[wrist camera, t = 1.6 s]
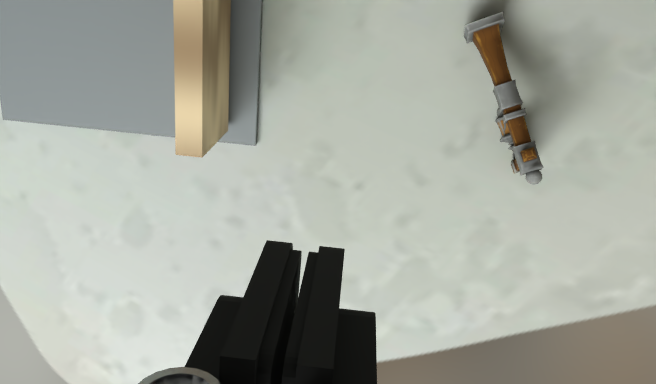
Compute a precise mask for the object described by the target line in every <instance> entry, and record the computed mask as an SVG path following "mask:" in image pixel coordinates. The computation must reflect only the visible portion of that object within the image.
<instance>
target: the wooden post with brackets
mask: <svg viewBox="0 0 656 384" xmlns="http://www.w3.org/2000/svg"><path fill="white" fill-rule="evenodd" d="M504 21H505V19H504V17H503V12H500V13H497V14H495V15H492V16H489V17H486V18H483V19H481V20H478V21H475V22H472V23H469V24H466V25H465V29H464V37H465V39H466V41H467V43H469V42H472V41H473V42H474V44H475V45H476V47H477V49H478V50H479V52H480V54H481V56H482V59H483V61H484V63H485V65H486V67H487V69H488V71H489V73H490V75H491V78H492V81H493V84H494V86H495V87H494V89H493V92H494V94H495V96H496V99H497V102H498V105H499V109H498V110H497V115H498V116H499V117H500V118H497V119H496V122H497V124H498V126H499V128H500V131H501V134H502V138H501V139H500V142H508V143H509V145H512V146H510V147H509V148H508V149H510V150H512V151H513V159H514V160H512V161H511V166H512V169H513V172H514V173H517V172H520V176H521V175H524V174H526V180H527V181H528V182H529V183H530V184H538V183H539V182H540V181H541V180H542V174H541V172H540V171H539V170H541V169H542V168H543V165H542V164H541V161H540V158H539V155H538V152H537V149H536V145H535V141H533V142H531V139H530V135H529V132H528V129H527V125H526V122H525V119H524V117H525V115H526V112H525V108H524V109H521V105H522V104H523V102H522V100H521V98H520V96H519V93H518V90H517V87H516V82H515V80H513V81H512V79H511V76H510V73H509V70H508V67H507V63H506V58H505V54H504V50H503V46H502V41H501V36H500V32H501V30H502V27H503V24H504ZM515 157H516V159H515Z"/></svg>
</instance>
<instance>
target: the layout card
mask: <svg viewBox="0 0 656 384" xmlns="http://www.w3.org/2000/svg"><path fill="white" fill-rule="evenodd" d="M261 16H262V0H231V16H230V65H229V114H228V131H227V132H226V133H225V134H224V135H223V136H222V137H221V139H220V140H219V141H218V142H224V143H233V144H243V145H253V146H255V145H256V141H257V116H258V91H259V66H260V41H261ZM0 101H1V108H2V116H3V120H11V121H21V122H31V123H40V124H50V125H60V126H69V127H79V128H88V129H98V130H108V131H117V132H127V133H137V134H146V135H156V136H166V137H175V78H174V14H173V0H0Z"/></svg>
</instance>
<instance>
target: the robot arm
mask: <svg viewBox="0 0 656 384" xmlns="http://www.w3.org/2000/svg"><path fill="white" fill-rule="evenodd" d="M343 260H344V249H341V248H332V247H323V246H320V247H319V252H318V253H316V252H309V254H308V258H307V262H306V267H305V271H304V276H303V280H302V284H301V289H300V293H299V280H300V267H301V251H298V250H293V245H292V243H286V242H277V241H268V240H267V241H266V244H265V246H264V248H263V251H262V253H261V256H260V258H259V261H258V263H257V266H256V268H255V270H254V273H253V275H252V278H251V280H250V283H249V285H248V288H247V290H246V293H245V295H244V297H234V296H225V295H221V296H220V297H219V298H218V300H217V302H216V304H215V306H214V308H213V310H212V312H211V314H210V316H209V318H208V320H207V322H206V324H205V326H204V329H203V331H202V333H201V335H200V337H199V339H198V341H197V343H196V345H195V347H194V349H193V351H192V353H191V355H190V357H189V359H188V361H187V363H186V365H185V367H178V368H169V369H165V370H162V371H159V372H156V373H154V374H152V375H150V376H148V377H146V378H144V379H143V380H142V381H141V382H140V383H138V384H377V369H376V366H377V365H376V317H375V312H366V311H357V310H348V309H340V308H339V303H340V292H341V281H342V271H343ZM298 293H299V297H298Z"/></svg>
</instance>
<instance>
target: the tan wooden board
mask: <svg viewBox="0 0 656 384" xmlns="http://www.w3.org/2000/svg"><path fill="white" fill-rule="evenodd" d="M173 14H174V78H175V142H176V155H183V156H193V157H203V156H204V155H205V154H206V153H207V152H208V151H209V150H210V149H211V148H212V147H213V146H214V145H215V144H216V143H217V142H218V141H219V140H220V139H221V137H222V136H223V135H224V134H225V133H226V132H227V131H228V114H229V65H230V16H231V0H173Z"/></svg>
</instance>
